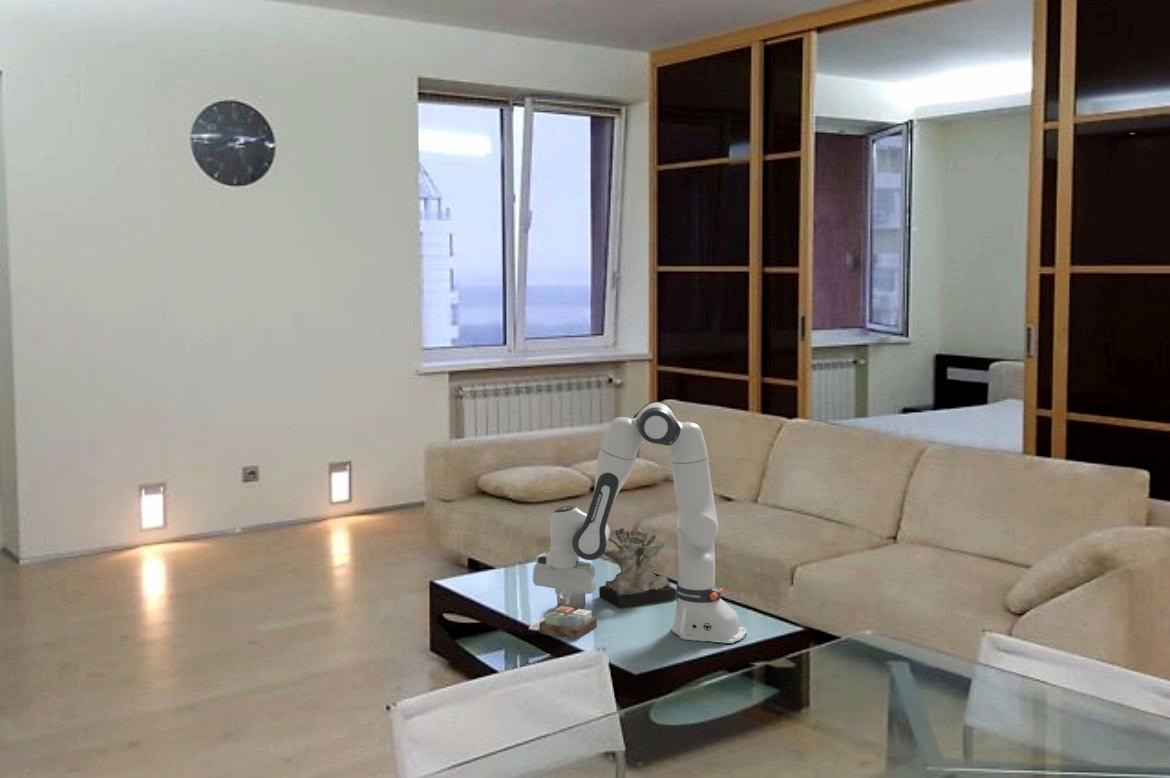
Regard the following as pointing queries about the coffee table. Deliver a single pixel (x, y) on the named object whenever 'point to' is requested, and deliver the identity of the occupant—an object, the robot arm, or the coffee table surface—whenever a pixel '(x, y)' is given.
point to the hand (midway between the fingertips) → (564, 603)
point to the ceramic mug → (573, 600)
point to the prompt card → (536, 625)
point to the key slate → (572, 621)
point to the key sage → (554, 618)
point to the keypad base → (568, 629)
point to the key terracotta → (565, 610)
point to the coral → (635, 572)
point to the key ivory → (583, 615)
